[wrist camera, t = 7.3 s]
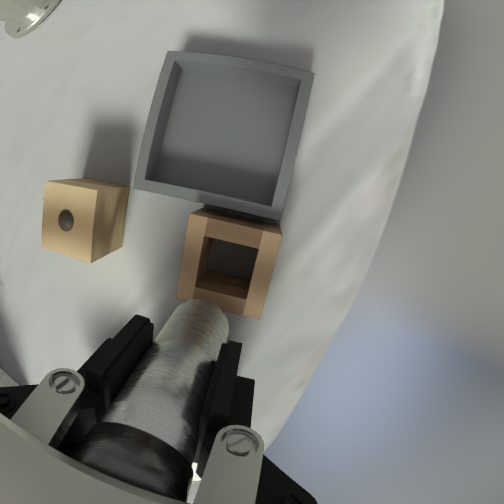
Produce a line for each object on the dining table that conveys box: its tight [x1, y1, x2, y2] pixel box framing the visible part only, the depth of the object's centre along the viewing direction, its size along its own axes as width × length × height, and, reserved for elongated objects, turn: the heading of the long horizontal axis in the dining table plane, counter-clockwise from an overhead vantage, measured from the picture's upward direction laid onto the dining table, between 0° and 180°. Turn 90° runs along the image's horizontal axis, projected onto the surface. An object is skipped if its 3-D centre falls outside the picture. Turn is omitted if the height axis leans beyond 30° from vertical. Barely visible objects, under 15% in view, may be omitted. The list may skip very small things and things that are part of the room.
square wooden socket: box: [176, 208, 282, 319], centre depth 25 cm, size 7×7×4 cm
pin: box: [72, 299, 229, 502], centre depth 9 cm, size 3×3×10 cm
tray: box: [133, 51, 315, 221], centre depth 23 cm, size 12×12×3 cm
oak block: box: [42, 178, 130, 263], centre depth 24 cm, size 6×6×6 cm
